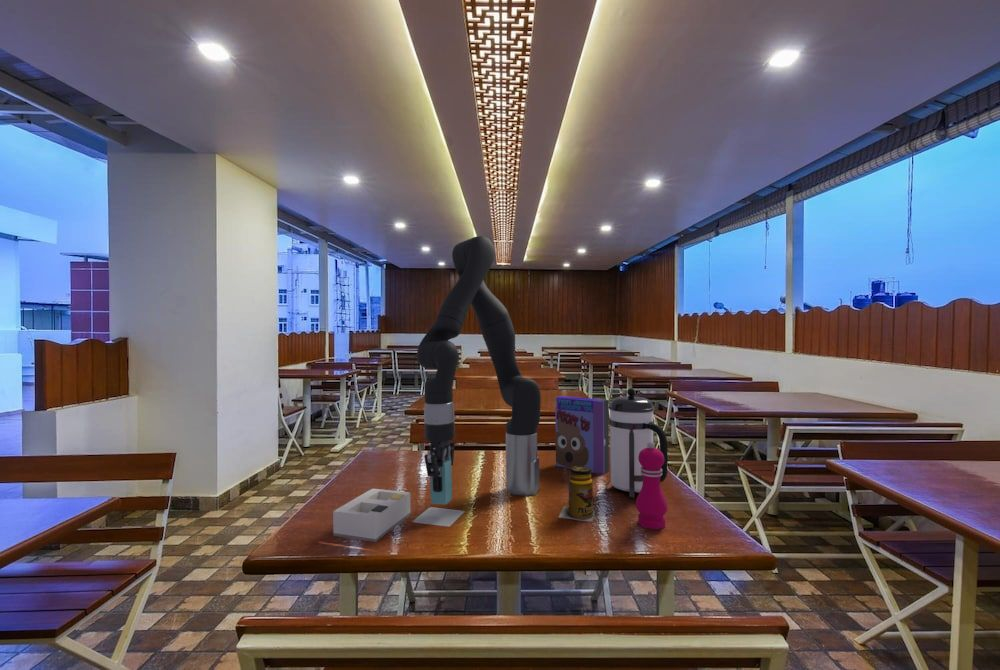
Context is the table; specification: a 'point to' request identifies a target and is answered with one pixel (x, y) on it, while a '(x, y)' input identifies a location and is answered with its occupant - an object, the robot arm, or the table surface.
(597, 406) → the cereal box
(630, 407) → the coffee press
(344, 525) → the socket box
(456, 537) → the table surface
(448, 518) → the mat
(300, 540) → the table surface
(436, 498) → the plug
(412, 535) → the table surface
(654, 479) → the pepper mill
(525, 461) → the robot arm
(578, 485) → the condiment
